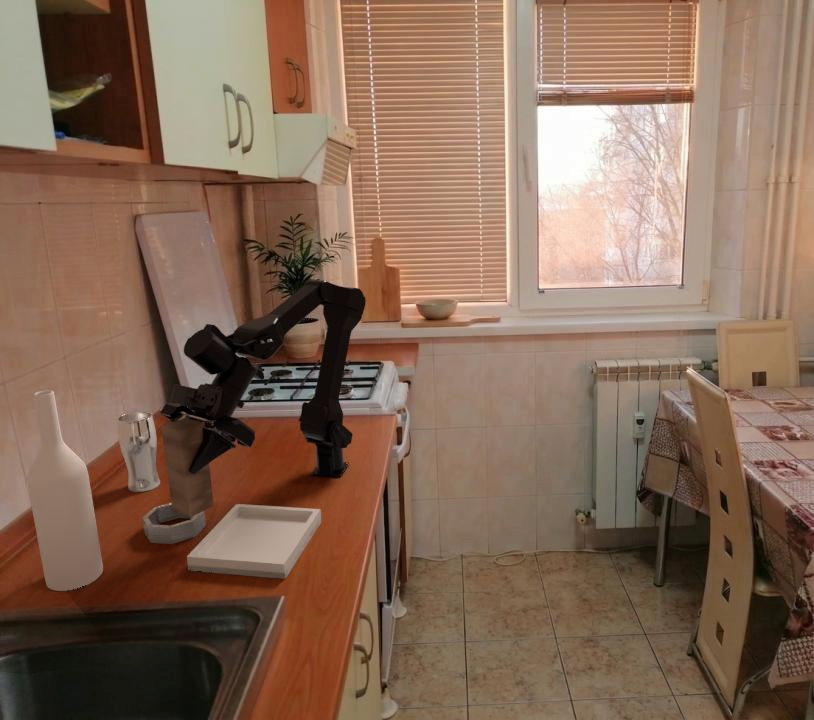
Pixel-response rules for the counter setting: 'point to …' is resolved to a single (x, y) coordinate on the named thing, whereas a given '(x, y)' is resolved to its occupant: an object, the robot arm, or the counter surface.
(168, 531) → the grey octagonal ring
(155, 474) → the beer glass
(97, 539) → the bottle
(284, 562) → the tray
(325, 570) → the counter surface
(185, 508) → the walnut block
